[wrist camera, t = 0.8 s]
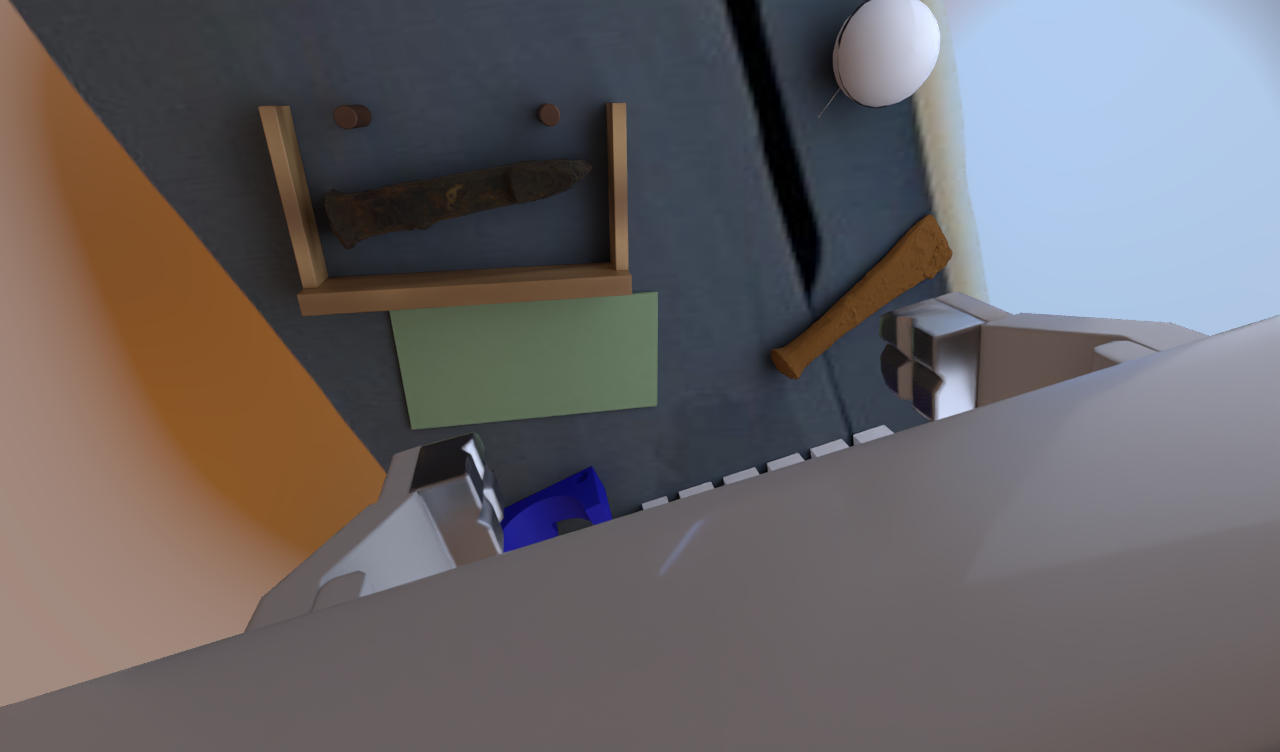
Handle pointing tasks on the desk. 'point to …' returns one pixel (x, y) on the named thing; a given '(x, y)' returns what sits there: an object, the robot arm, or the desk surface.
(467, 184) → the hand tool
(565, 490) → the cable clip
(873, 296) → the primitive tool
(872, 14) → the white seamed ball
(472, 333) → the mat
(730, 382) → the desk surface
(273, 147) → the tool rack
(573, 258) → the desk surface
